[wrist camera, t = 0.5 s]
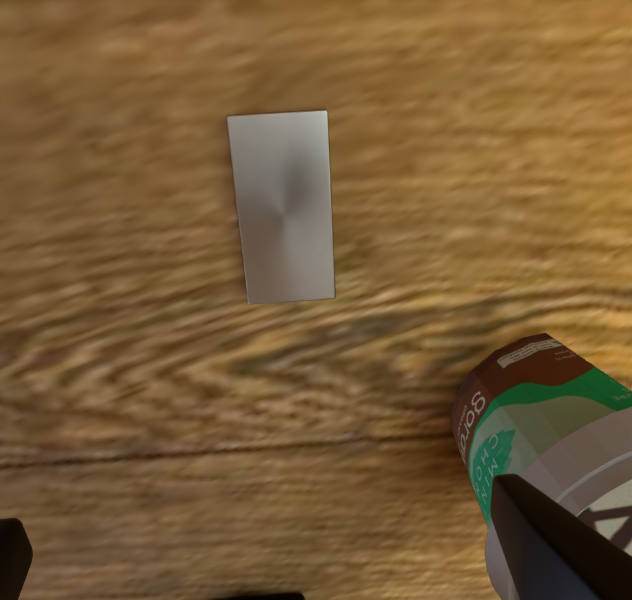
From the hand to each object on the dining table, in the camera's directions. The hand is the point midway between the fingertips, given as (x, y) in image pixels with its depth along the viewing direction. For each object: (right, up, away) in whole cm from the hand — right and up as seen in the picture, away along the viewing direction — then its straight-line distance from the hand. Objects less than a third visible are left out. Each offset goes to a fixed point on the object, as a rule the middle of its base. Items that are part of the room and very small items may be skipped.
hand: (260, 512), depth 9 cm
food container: (+10, -2, +17) cm, 20 cm away
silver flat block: (0, +8, +12) cm, 14 cm away
